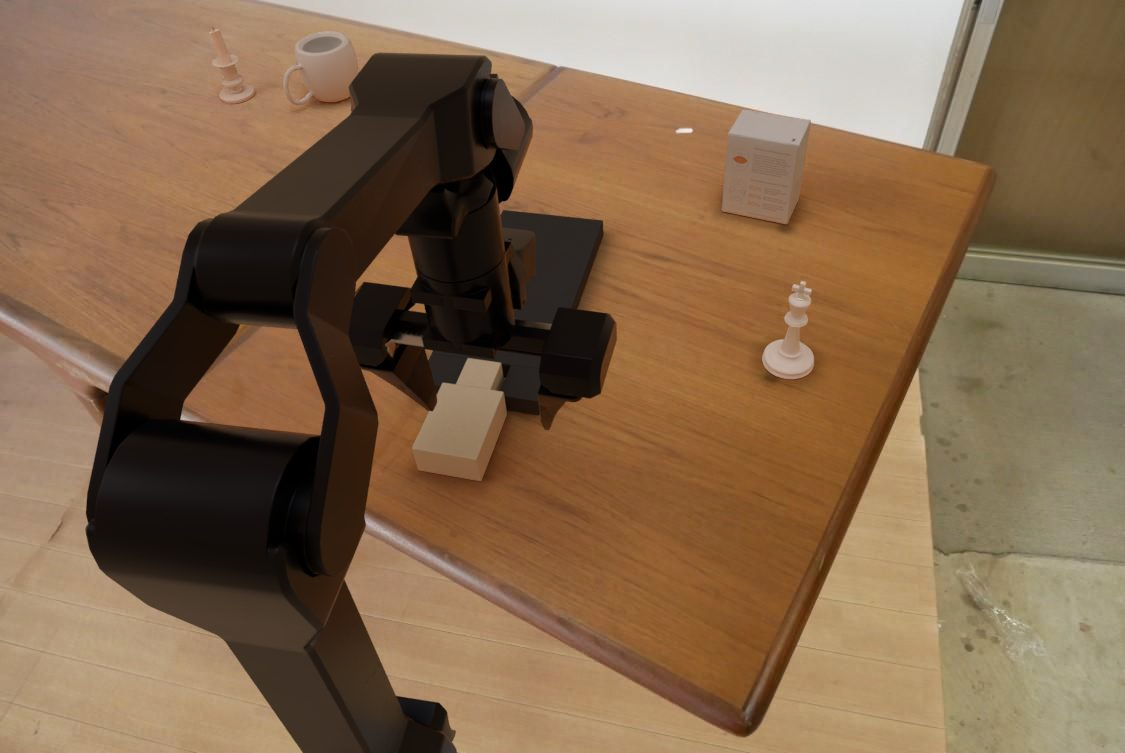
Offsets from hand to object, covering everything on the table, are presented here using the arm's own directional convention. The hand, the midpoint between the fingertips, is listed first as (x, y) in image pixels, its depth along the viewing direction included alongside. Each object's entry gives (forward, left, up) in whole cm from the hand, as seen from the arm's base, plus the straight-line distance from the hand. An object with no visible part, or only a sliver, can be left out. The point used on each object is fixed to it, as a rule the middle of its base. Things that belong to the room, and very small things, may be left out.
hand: (489, 415), depth 63 cm
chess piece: (+22, -22, -12) cm, 33 cm away
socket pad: (+25, +6, -12) cm, 28 cm away
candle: (+62, +61, -12) cm, 88 cm away
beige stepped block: (+8, +6, -12) cm, 15 cm away
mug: (+63, +47, -12) cm, 79 cm away
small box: (+47, -17, -12) cm, 51 cm away
